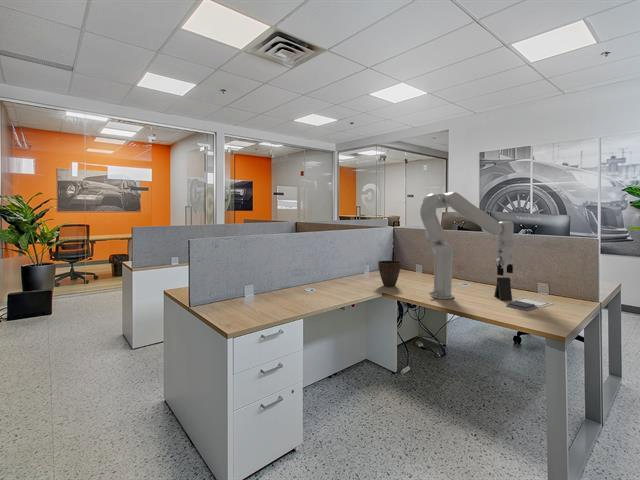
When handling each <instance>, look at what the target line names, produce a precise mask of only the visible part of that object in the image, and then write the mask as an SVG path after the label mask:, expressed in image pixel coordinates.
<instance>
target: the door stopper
mask: <svg viewBox="0 0 640 480" xmlns="http://www.w3.org/2000/svg"><path fill="white" fill-rule="evenodd" d="M494 289H495V290H494V294H493V297H494V298H496V299H498V300H499V301H501V302H502V301H504V302H507V301H508V302H509V301H510V302H511V301H512V300H513V295H512V285H511V277H497V279H496V285H495V288H494Z"/></svg>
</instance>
